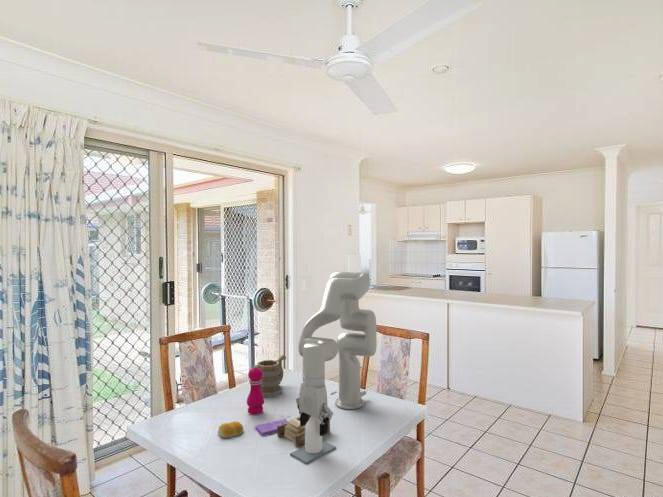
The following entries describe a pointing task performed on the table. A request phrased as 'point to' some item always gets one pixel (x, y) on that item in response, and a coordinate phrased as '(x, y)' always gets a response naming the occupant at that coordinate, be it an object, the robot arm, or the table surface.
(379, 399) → the table surface
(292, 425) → the offcut stack
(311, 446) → the white tall rounded lump
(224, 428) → the bread roll
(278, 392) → the mortar and pestle
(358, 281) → the robot arm
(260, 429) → the sponges
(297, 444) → the rack
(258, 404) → the pepper mill
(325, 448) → the mat
